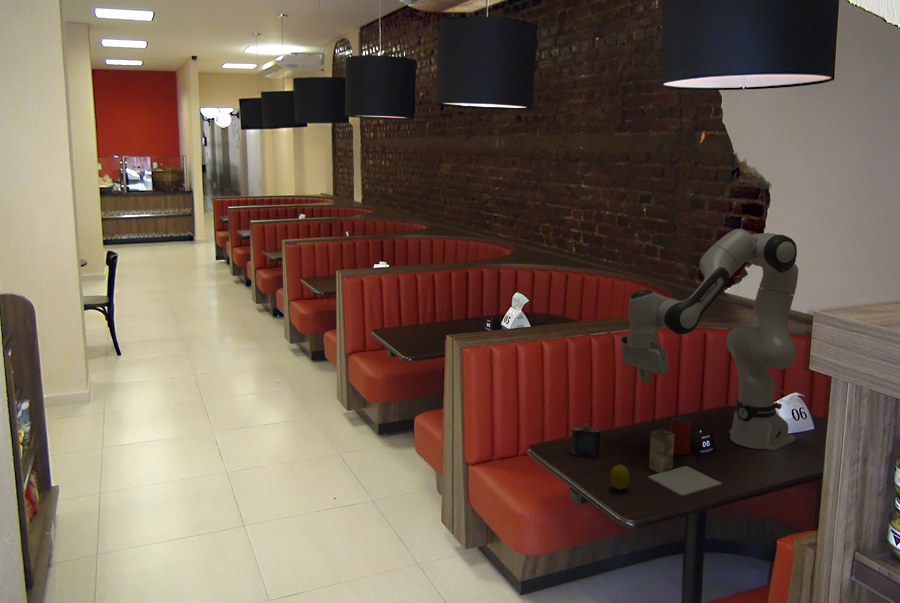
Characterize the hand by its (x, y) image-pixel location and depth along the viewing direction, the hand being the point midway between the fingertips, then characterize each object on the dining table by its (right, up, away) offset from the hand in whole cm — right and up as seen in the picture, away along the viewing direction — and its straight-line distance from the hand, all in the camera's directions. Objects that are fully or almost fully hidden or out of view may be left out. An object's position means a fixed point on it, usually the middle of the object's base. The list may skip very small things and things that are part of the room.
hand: (645, 381), depth 232 cm
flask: (-19, -25, +3) cm, 31 cm away
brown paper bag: (+2, -27, -9) cm, 28 cm away
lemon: (-14, -30, -22) cm, 40 cm away
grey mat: (+7, -28, -17) cm, 34 cm away
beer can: (+12, -24, +4) cm, 28 cm away
